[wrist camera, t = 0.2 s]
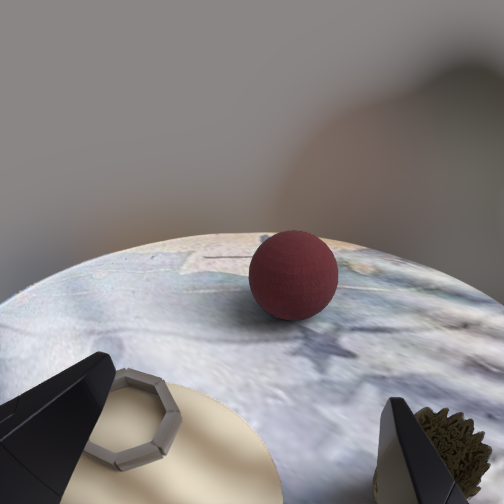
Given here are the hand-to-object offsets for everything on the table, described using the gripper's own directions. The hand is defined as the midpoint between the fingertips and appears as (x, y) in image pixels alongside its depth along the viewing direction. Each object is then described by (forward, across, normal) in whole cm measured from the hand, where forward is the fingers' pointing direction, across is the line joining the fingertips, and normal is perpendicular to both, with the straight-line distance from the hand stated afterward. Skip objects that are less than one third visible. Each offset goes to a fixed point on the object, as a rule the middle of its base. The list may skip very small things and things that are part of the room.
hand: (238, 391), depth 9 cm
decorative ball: (+25, 0, +16) cm, 30 cm away
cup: (+3, -11, +17) cm, 20 cm away
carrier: (-1, +9, +17) cm, 19 cm away
